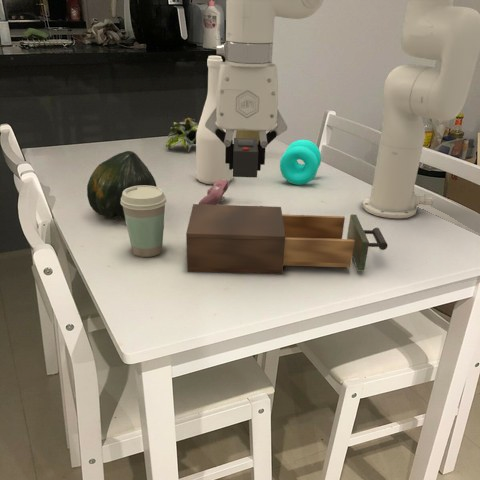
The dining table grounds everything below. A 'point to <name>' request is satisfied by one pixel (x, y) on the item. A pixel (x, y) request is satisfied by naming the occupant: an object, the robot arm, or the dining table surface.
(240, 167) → the red button box
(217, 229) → the cabinet
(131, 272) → the dining table surface
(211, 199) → the video game controller
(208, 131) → the wine bottle
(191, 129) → the green leafy plant
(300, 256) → the drawer
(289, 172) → the donuts
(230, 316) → the dining table surface
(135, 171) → the squash
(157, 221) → the coffee cup
